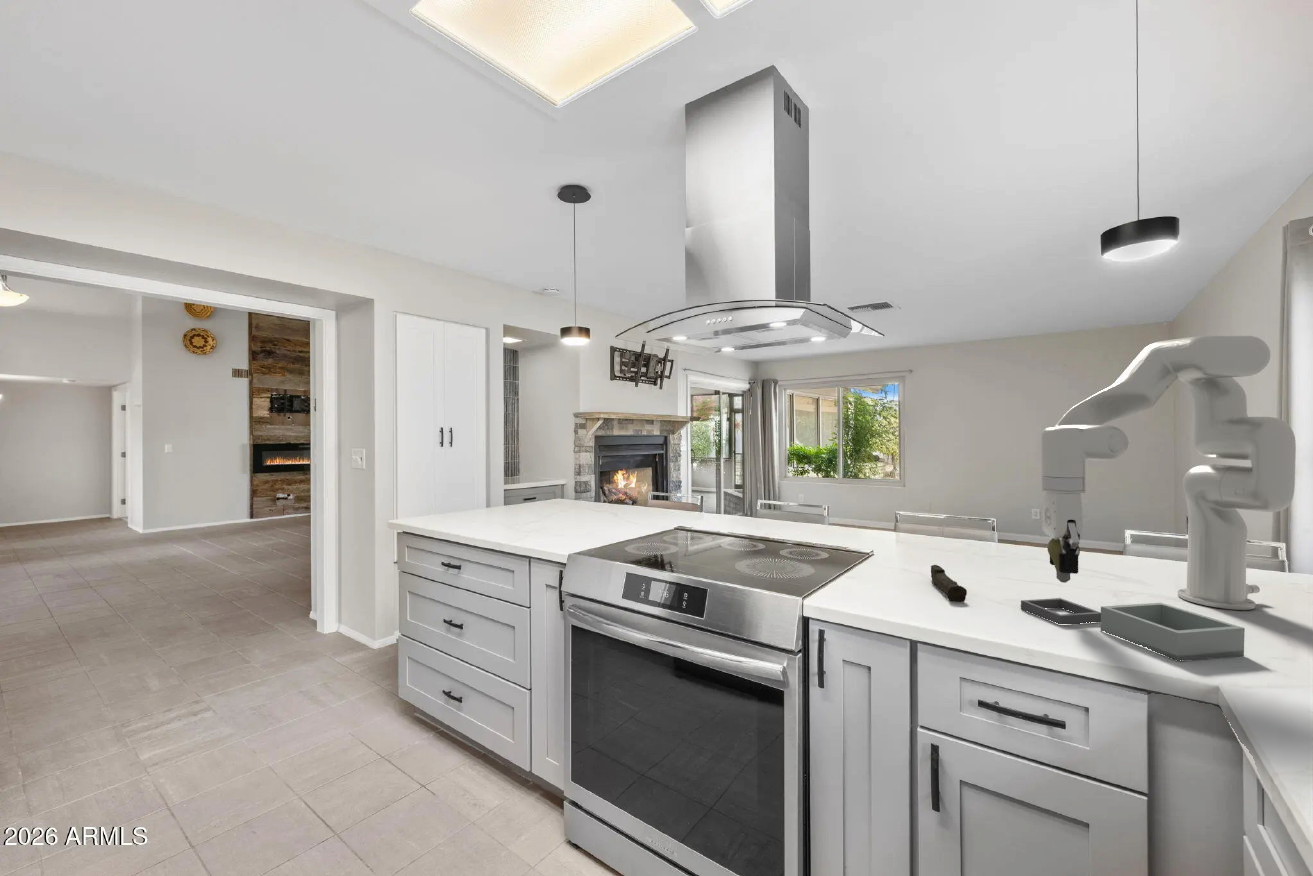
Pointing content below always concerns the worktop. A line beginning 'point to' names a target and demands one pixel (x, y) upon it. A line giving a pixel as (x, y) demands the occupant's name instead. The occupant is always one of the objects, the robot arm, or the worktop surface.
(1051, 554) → the light bulb
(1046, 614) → the bulb holder
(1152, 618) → the bin
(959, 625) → the worktop surface
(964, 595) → the hand tool
